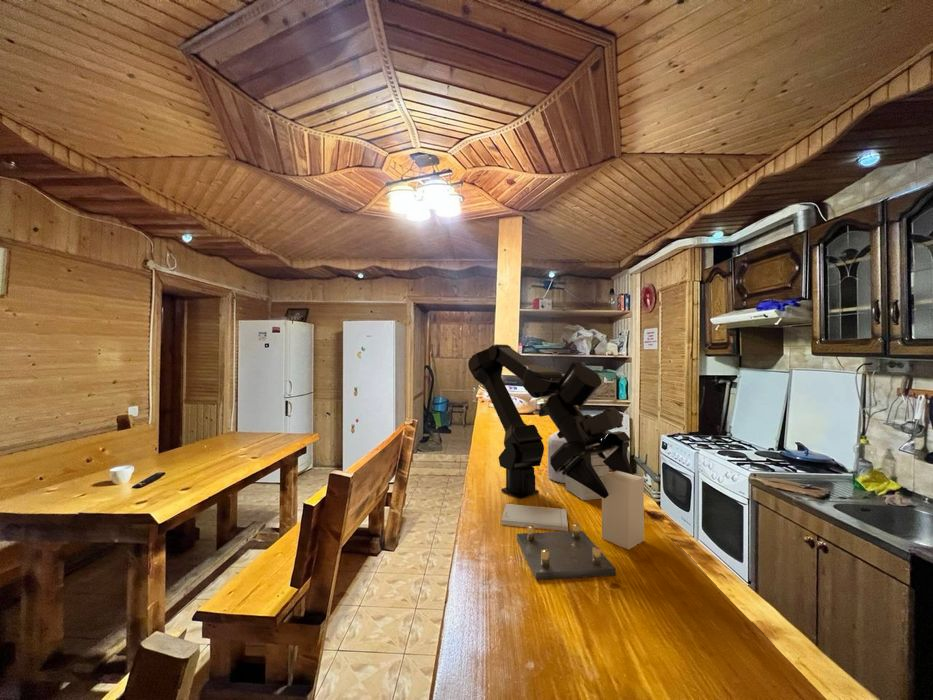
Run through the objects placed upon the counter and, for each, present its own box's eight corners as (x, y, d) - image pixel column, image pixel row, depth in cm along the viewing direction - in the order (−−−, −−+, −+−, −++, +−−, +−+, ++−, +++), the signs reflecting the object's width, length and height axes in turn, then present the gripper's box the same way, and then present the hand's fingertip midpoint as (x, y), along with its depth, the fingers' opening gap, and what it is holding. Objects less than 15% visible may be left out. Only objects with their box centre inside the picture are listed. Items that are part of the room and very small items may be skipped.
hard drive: (500, 519, 72) (568, 525, 69) (505, 502, 80) (566, 507, 77) (501, 527, 72) (568, 534, 69) (505, 510, 80) (566, 515, 77)
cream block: (601, 538, 67) (601, 475, 67) (617, 530, 70) (617, 470, 70) (628, 549, 63) (628, 483, 63) (643, 540, 66) (643, 477, 66)
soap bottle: (555, 471, 105) (555, 383, 106) (588, 477, 100) (587, 385, 101) (542, 479, 98) (542, 385, 99) (576, 486, 93) (576, 387, 93)
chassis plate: (516, 539, 66) (516, 522, 66) (582, 536, 67) (582, 519, 67) (535, 579, 54) (535, 558, 54) (615, 575, 55) (615, 554, 55)
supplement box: (564, 489, 91) (564, 437, 91) (591, 487, 93) (591, 435, 93) (581, 501, 84) (581, 444, 84) (610, 498, 86) (610, 442, 86)
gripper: (562, 396, 65) (623, 476, 56) (621, 391, 77) (679, 456, 68) (529, 435, 71) (579, 512, 62) (587, 424, 83) (637, 488, 74)
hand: (621, 491), depth 66 cm, fingers open, 9 cm apart
